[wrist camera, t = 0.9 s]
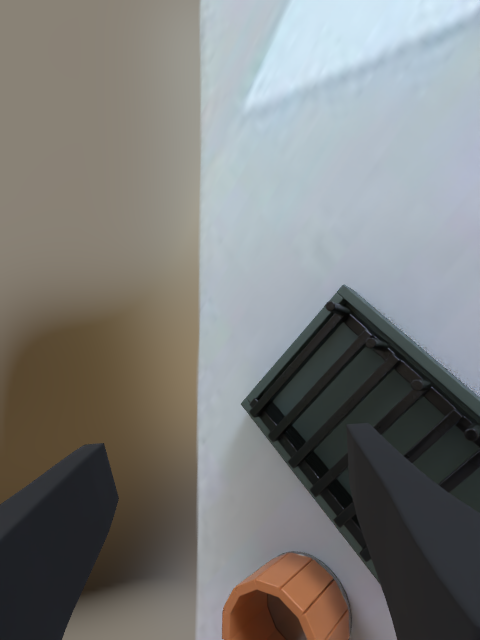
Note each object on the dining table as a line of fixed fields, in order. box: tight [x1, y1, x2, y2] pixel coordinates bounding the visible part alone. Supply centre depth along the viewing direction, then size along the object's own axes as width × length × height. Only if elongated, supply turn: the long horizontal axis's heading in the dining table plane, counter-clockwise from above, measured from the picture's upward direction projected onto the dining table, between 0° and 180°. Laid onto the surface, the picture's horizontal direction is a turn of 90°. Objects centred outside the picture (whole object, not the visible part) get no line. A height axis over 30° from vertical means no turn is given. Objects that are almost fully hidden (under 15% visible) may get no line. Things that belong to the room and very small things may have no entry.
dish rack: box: [241, 285, 480, 583], centre depth 20 cm, size 14×10×5 cm
